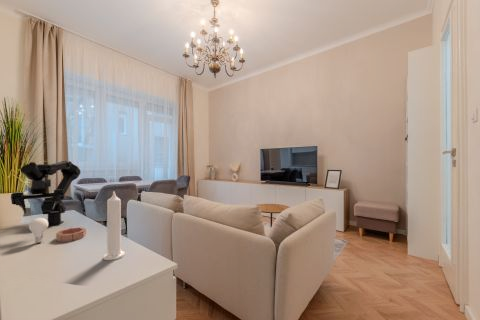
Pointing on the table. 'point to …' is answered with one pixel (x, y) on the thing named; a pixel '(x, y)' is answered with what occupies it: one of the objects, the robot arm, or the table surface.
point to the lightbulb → (38, 228)
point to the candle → (114, 229)
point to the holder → (70, 234)
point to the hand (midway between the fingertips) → (38, 211)
